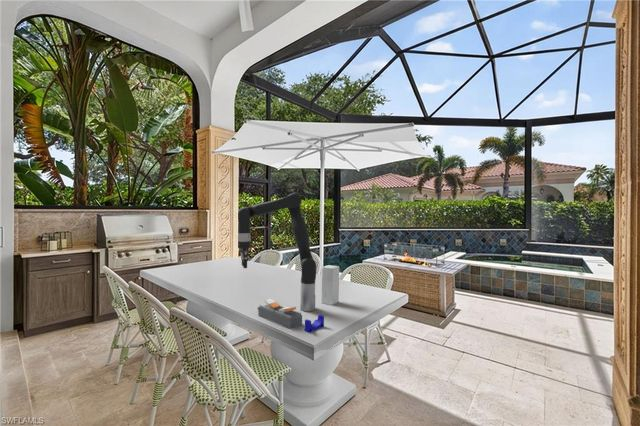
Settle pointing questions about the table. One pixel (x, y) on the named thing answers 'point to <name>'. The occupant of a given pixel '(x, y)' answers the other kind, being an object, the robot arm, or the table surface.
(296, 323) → the box
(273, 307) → the rocker
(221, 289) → the table surface
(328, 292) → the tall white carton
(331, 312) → the table surface
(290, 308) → the block
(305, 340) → the table surface
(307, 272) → the robot arm
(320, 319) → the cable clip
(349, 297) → the table surface
